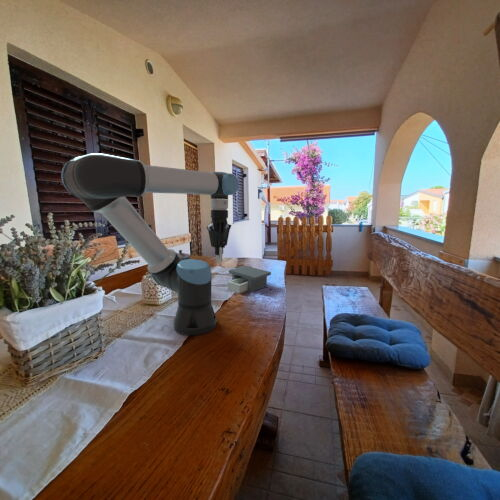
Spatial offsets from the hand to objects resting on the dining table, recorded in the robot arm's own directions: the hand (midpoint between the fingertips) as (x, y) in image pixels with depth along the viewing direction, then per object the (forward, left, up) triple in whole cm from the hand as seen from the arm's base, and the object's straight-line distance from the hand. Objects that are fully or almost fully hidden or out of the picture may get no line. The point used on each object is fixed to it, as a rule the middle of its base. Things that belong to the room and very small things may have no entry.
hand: (219, 261), depth 115 cm
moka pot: (-6, +23, -17) cm, 29 cm away
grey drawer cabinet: (+22, 0, -17) cm, 28 cm away
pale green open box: (+18, 0, -17) cm, 25 cm away
